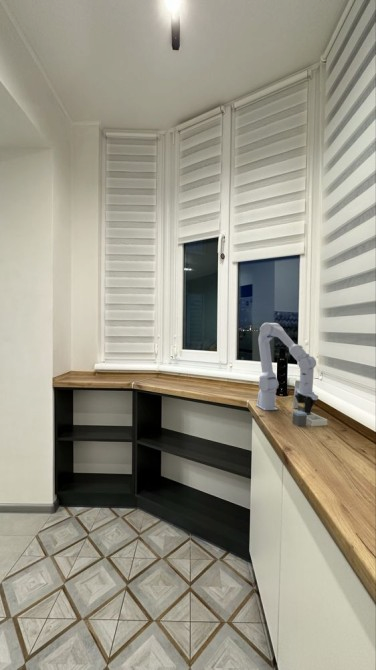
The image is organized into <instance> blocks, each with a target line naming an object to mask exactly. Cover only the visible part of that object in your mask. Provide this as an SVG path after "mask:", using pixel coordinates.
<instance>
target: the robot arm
mask: <svg viewBox="0 0 376 670" xmlns="http://www.w3.org/2000/svg"><path fill="white" fill-rule="evenodd" d="M274 338H278V339H279V340H280V341H281V342H282V343H283V344H284V345H285V346H286V347H287V348H288V352H289V354H290V355H291V356H292V357H293V359H294V360H296V362H297V365H298V367H299V374H300V375H299V379H300V386H299V389H295V388H294V391H293V392H294V393H298V394H297V395H295V397H296V399H297V402H298V403H305V413H310V412H312V410H313V409H312V408H313V406H314V404H315V403H316V402H317V400H319V395H317V394H315V392H314V391H313V387H314V386H313V385H314V368H315V367H316V366H317V360H316V359H315V357H314V356H310V354H309V353H307V351H306V350H304V347H303V345H301V344H297V343H295V342H294V341H293V340H292V338H291V337H290V336H289V334H288V333H286V331H285V330H284V328H283V327H282V326H281V325H280V324H279V323H278V322H263V323H262V325H261V326H260V327H259V334H258V339H257V341H258V342H257V343H258V348H259V357H260V365H261V374H260V375H259V380H258V381H259V382H258V388H259V390H258V393H257V403H256V404H255V406H256V407H258V408H260V409H262V410H263V411H278V410H279V408H277V407H276V395H277V393H276V392H277V389H279V385H280V384H279V381H278V378H277V375H276V373H275V372H274V368H273V362H272V353H271V346H270V341H272V340H273V339H274ZM294 393H293V394H294Z"/></svg>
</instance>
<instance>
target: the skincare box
mask: <svg viewBox="0 0 376 670" xmlns="http://www.w3.org/2000/svg"><path fill="white" fill-rule="evenodd" d="M299 386H300V378H295V383H294V390H295V389H299ZM297 394H298V393H293V401H292V402H293V404H292V409H297V410H298V402H297V399H296V397H295V395H297Z"/></svg>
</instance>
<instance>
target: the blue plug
mask: <svg viewBox="0 0 376 670" xmlns="http://www.w3.org/2000/svg"><path fill="white" fill-rule="evenodd" d="M292 411H293V416H292V424H293V425H294V426H296V427H306V426H307V424H306V417H307V413H305V412H303V411H298V410H292Z"/></svg>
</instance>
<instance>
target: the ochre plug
mask: <svg viewBox="0 0 376 670" xmlns="http://www.w3.org/2000/svg"><path fill="white" fill-rule="evenodd" d="M297 411H303V412H305V403H298V409H297ZM311 412H312V411H311ZM311 412H310V413H307V415H311Z"/></svg>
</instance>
